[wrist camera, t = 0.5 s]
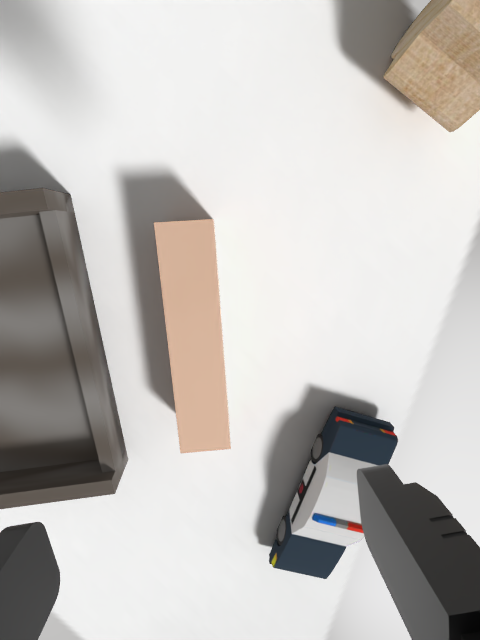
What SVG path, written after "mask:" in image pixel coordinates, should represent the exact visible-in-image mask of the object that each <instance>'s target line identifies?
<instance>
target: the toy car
mask: <svg viewBox="0 0 480 640" xmlns="http://www.w3.org/2000/svg"><path fill="white" fill-rule="evenodd" d="M393 430H394V427H393V426H392V424H391V423H390V422H386V421H383V420H379V419H376V418H373V417H369V416H366V415H362V414H359V413H355V412H352V411H348V410H345V409H341V408H338V407H334V409H333V411H332V413H331V415H330V417H329V419H328V421H327V423H326V425H325V427H324V429H323V431H322V433H321V434H322V435H320V434H318V436H317V438H316V440H315V443H314V445H313V448H312V450H311V457H312V460H310V462H309V464H308V467H307V469H306V471H305V474H304V476H303V478H302V481H301V483H300V485H299V488H298V490H297V492H296V495H295V497H294V499H293V502H292V504H291V506H290V509H289V511H288V513H287V516H286V517H285V516H283V518H282V520H281V522H280V525H279V527H278V529H277V540H275V542H274V545H273V547H272V550H271V552H270V554H269V556H270V558H269V562H270V564H272V565H273V568H278V569H282V570H287V571H291V572H296V573H301V574H305V575H310V576H314V577H319V578H324V579H326V578H327V577H328V576H329V575H330V573H331V572H332V571H333V569H334V567H335V566H336V564H337V563H338V561H339V559H340V558H341V556H342V554H343V552H344V551H345V549H346V546H349V545H351V544H354V543H357V542H359V541H361V540H362V539H363V538H364V533H363V529H362V524H361V517H360V506H359V496H358V485H357V470H358V469H361V468H367V467H373V466H378V465H384V464H387V465H388V464H389V462H390V459H391V457H392V455H393V452H394V450H395V447H396V445H397V442H398V438H397V436H396V435H395V434H394V432H393Z"/></svg>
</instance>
